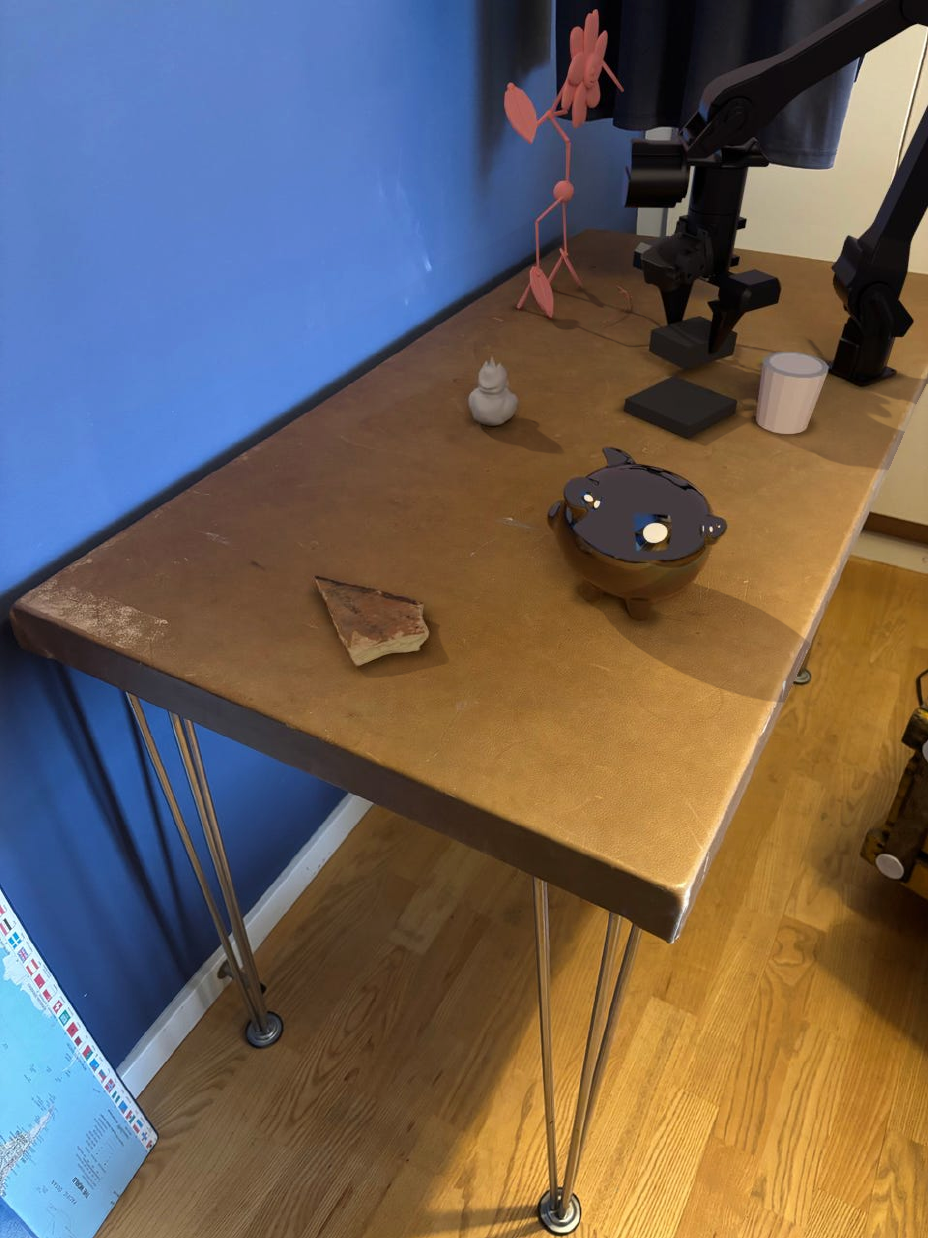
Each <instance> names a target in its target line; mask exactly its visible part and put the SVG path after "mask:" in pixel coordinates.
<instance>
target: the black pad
mask: <svg viewBox="0 0 928 1238" xmlns="http://www.w3.org/2000/svg"><path fill="white" fill-rule="evenodd" d="M711 323H712V320H711V319H708V318H706V317H704V316H701V315H697V316H694V317H690V318H687V319H683V320H682V321H680V322H676V323H672V324H669V325H667V324H666V325H663V326H658V327H654V328H652V329H650V330H651V331H650V338H649V344H648V352H649V353H651V354H653V355H655V356H657V357H659V358H661V359H662V360H665V361H667V362H668V363H671V364H673V365H675V366H676V367H678V368H680V369H682V370H684V371H687V370H690V369H694V368H695V367H696V368H697V367H699V366H702V365H706V364H709V363H712V362H715V361H716V362H717V361H719V360H721V359H725V358H728V357H732V356H734V353H735V349H736V343H737V338H738V332H736V331H734V330H732V331H731V332H730V334H729V335H728V337H727V338H726V339H725V341H724V342H723V344H722V345H721V347H720V348H719V349H718V351H717V352H716V353H713V354H710V353H708V347H709V336H710V330H711Z"/></svg>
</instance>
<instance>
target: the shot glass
mask: <svg viewBox="0 0 928 1238" xmlns="http://www.w3.org/2000/svg"><path fill="white" fill-rule="evenodd" d="M828 369H829V366H828V365H827V364H826V361H825V360H823V359H822V358H820V357H819V356H814V355H812V354H809V353H805V352H799V351H794V350H793V351H792V350H791V351H790V350H789V351H788V350H787V351H784V350H782V351H776V352H771V353H769V354H767V355H765V356H764V358H763V360H762V365H761V375H760V382H759V391H758V397H757V407H756V414H755V421H756V423H757V425H758V426H760V427H761V428H763V429H764V430H766V431H768V432H771V433H775V434H781V435H794V434H799V433H803V432H804V431H806V430H807V428H808V425H809V423H810V420H811V418H812V415H813V412H814V410H815V407H816V404H817V403H818V402H817V401H818V399H819V397H820V394H821V390H822V388H823V386H824V383H825V380H826V377H827V374H828V373H829V371H828Z"/></svg>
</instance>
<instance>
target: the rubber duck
mask: <svg viewBox="0 0 928 1238" xmlns="http://www.w3.org/2000/svg"><path fill="white" fill-rule="evenodd" d="M477 386H478V387H476V388H474V389H473V390H472V391H471V392H470V394H469V396H468V408H469V411H470V413H471V414H472V418H473V419H474V421H476V422H477V423H479V424H482V425H485V426H490V427H495V426H496V427H497V426H501V425H503V424H504V423H505V422H507V421H509V420H511V418H512V417H513V416H514V415H515V413H516V412H517V410H518V406H519V405H518V404H519V399H518V397H517V395H516V394H515V393H513V392H511V391H510V381H509V380H508V372H507V370H506V369H505V367H503V365H502V364H501V362H498V364H497V365H496V363H495V359H494V357H493V355H491V357H490V360H489V361H488V360H485V361H484V363H483V366H482V367H481V369H480V370H479V373H478V379H477Z"/></svg>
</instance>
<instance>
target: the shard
mask: <svg viewBox="0 0 928 1238" xmlns="http://www.w3.org/2000/svg"><path fill="white" fill-rule="evenodd" d="M314 579H315V583H316V586H317V588H318V592H319V593H320V594H321V596H322V599H323V601H324V602H325V603H326V604H327V605H326V606H327V610H328V612H329V615H330V616H331V619H332V622H333V624H334V627H335V628H336V630H337V634H338V637H339V639H340V640H341V642H342V644H343V645H344V646H345V648H346V651H347V652H348V655H349V656H350V659H351V660H352V662H353V664H354V666H356V667H361V666H362V665H364V664H366V663H369V662H371V661H374V660H376V659H379V658H381V657H383V656H386V655H389V654H396V653H397V654H399V653H400V654H401V653H410V652H418V651H420V650H421V648H420V647H421V645H423V644H424V643H425V641H427V640H428V639H429V636H430V631H429V628H428V626H427V624H426V622H425V620H424V617H423V614H424V608H425V602H422V601H419V600H416V599H412V598H410V597H406V596H402V595H394V594H393V593H391V592H388V591H385V590H384V591H383V590H379V589H376V588H373V587H367V586H365V585H364V586H363V585H358V584H353V583H348V582H343V581H337V580H334V579H329V578H327V577H322V576H319V575H314Z"/></svg>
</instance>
